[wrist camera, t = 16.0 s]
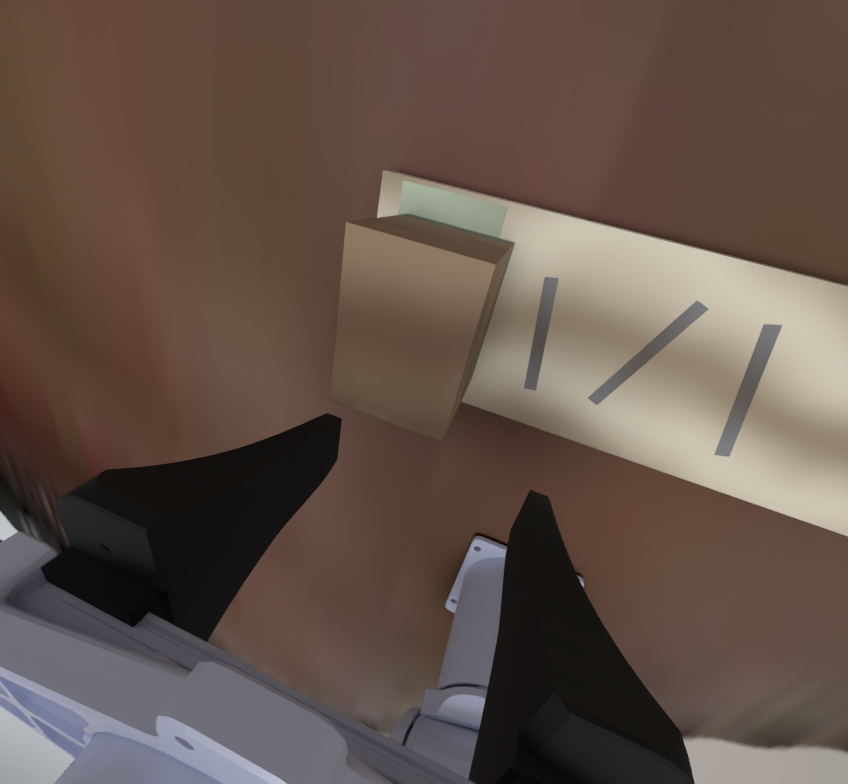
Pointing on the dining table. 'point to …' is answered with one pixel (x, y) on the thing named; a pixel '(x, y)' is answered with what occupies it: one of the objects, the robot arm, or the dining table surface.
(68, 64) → the dining table surface
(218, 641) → the dining table surface
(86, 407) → the dining table surface
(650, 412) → the birch board
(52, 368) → the dining table surface
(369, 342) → the eraser block
